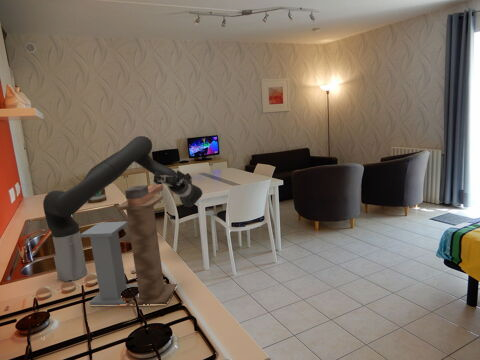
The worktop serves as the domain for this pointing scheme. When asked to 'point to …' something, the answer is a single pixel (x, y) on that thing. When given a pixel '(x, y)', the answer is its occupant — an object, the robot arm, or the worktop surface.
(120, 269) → the blue-grey pedestal
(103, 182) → the robot arm
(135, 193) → the grey and brown bar
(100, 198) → the mug
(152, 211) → the cat scratching post
